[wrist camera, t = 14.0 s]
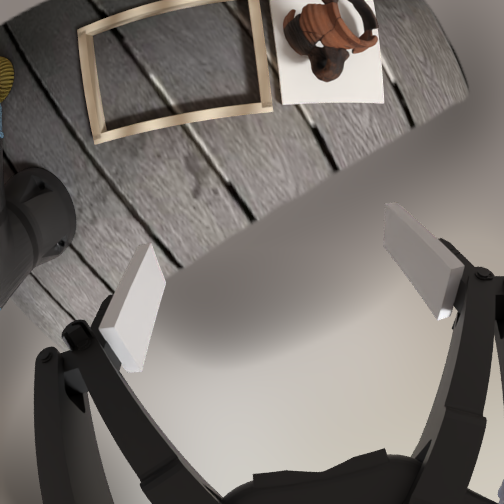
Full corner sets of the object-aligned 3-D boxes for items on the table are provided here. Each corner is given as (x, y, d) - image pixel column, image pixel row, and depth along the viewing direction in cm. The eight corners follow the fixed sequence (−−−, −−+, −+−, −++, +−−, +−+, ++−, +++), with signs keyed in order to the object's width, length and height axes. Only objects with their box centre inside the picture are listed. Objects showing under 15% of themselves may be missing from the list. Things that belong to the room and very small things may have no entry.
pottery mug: (277, -4, 26) (323, -31, 19) (336, 21, 30) (383, 4, 23) (274, 81, 29) (326, 63, 22) (337, 98, 33) (390, 91, 26)
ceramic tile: (281, 104, 33) (282, 104, 32) (267, -6, 26) (268, -9, 25) (380, 102, 33) (384, 103, 32) (369, -2, 25) (372, -4, 24)
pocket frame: (101, 141, 35) (94, 144, 33) (84, 31, 26) (77, 29, 25) (271, 110, 34) (273, 111, 32) (256, -10, 25) (256, -15, 24)
